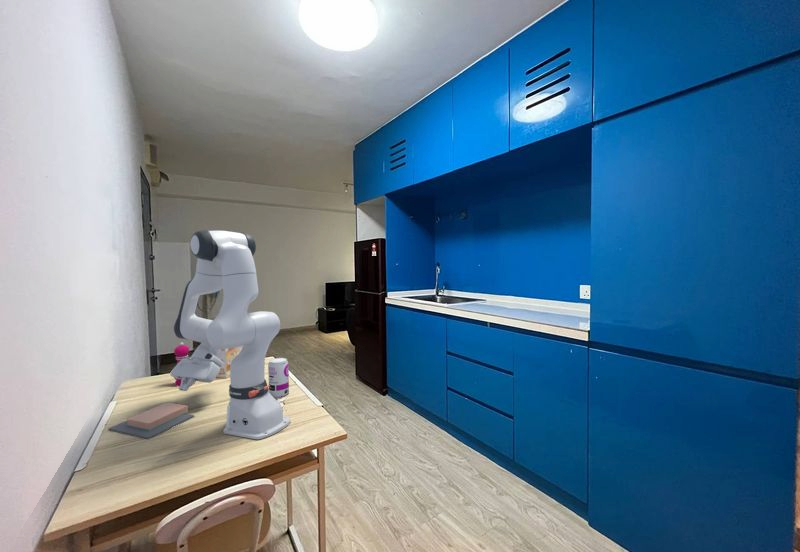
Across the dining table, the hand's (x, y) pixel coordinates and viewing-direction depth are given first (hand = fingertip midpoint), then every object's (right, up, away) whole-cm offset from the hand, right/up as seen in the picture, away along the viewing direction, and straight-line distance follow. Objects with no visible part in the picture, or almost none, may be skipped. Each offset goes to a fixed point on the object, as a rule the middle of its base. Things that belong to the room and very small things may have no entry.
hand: (182, 390), depth 126 cm
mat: (-3, -8, -10) cm, 14 cm away
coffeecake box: (-3, -6, +42) cm, 43 cm away
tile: (-1, -6, -2) cm, 6 cm away
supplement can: (+33, -7, +14) cm, 36 cm away
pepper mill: (-19, -7, +28) cm, 35 cm away
